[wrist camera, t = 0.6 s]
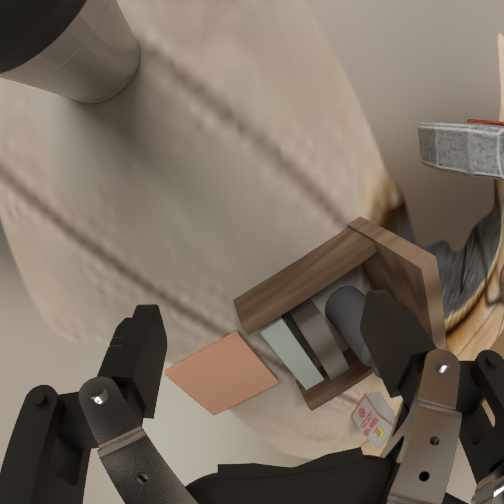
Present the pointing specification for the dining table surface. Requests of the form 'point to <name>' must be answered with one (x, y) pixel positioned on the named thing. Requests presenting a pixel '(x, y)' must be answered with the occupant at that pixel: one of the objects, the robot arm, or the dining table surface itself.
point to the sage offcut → (291, 352)
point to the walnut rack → (336, 265)
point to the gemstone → (502, 276)
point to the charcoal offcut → (319, 337)
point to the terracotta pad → (223, 374)
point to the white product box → (374, 418)
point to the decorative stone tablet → (464, 147)
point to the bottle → (350, 321)
